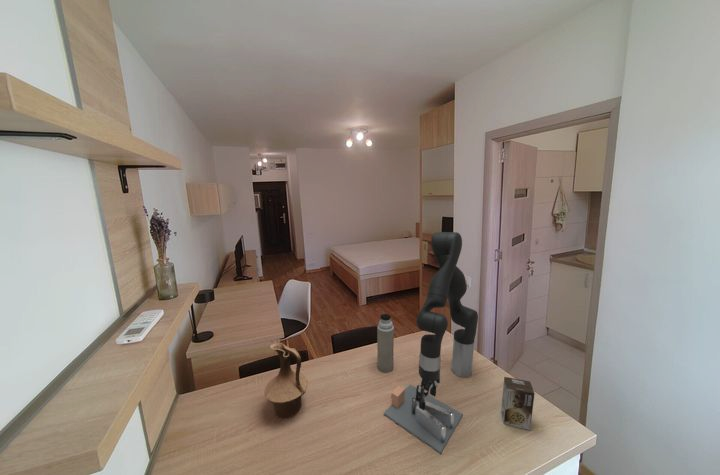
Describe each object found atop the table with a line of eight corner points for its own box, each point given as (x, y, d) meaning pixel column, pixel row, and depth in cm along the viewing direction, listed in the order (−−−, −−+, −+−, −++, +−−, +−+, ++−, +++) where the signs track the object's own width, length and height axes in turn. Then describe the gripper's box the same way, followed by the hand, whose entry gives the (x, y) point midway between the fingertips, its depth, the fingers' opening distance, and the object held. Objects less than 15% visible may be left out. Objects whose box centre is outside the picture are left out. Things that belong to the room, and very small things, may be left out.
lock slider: (391, 404, 110) (391, 392, 108) (398, 396, 113) (398, 385, 112) (397, 408, 108) (397, 396, 106) (404, 400, 111) (404, 389, 110)
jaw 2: (420, 414, 104) (420, 402, 103) (421, 411, 106) (422, 399, 105) (452, 429, 98) (453, 417, 97) (453, 425, 100) (454, 413, 99)
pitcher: (317, 399, 114) (314, 340, 108) (292, 432, 99) (287, 366, 93) (285, 386, 121) (281, 331, 115) (257, 416, 106) (250, 354, 100)
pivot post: (410, 412, 106) (411, 399, 104) (413, 409, 107) (413, 396, 106) (414, 415, 104) (415, 401, 103) (417, 412, 106) (417, 399, 104)
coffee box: (526, 416, 104) (530, 381, 101) (530, 431, 98) (535, 393, 95) (500, 410, 107) (504, 375, 104) (503, 424, 101) (507, 387, 98)
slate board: (409, 386, 120) (409, 384, 120) (462, 415, 105) (462, 414, 105) (383, 414, 106) (383, 412, 106) (440, 454, 90) (440, 452, 90)
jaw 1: (415, 419, 102) (415, 407, 101) (418, 416, 104) (418, 404, 102) (443, 443, 93) (443, 430, 92) (446, 440, 94) (447, 427, 93)
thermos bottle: (393, 362, 136) (394, 312, 130) (392, 373, 128) (393, 320, 123) (378, 361, 138) (378, 311, 132) (376, 371, 130) (376, 319, 124)
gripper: (429, 350, 104) (427, 386, 108) (410, 368, 94) (408, 407, 97) (447, 358, 100) (445, 395, 103) (429, 378, 89) (427, 419, 92)
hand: (427, 401), depth 100 cm, fingers open, 8 cm apart
